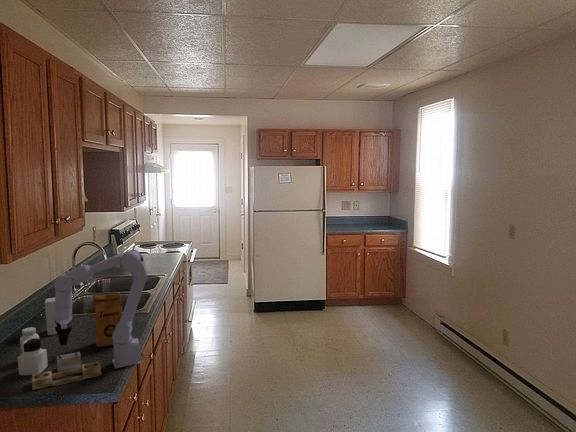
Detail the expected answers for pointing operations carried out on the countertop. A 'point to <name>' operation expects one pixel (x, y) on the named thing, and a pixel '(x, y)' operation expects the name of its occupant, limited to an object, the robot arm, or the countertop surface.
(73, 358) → the white box with knobs
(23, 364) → the medicine bottle
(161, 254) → the countertop surface
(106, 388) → the countertop surface
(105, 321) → the coffee package
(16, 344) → the countertop surface
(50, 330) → the skincare box
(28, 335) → the supplement bottle
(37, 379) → the wooden frame
